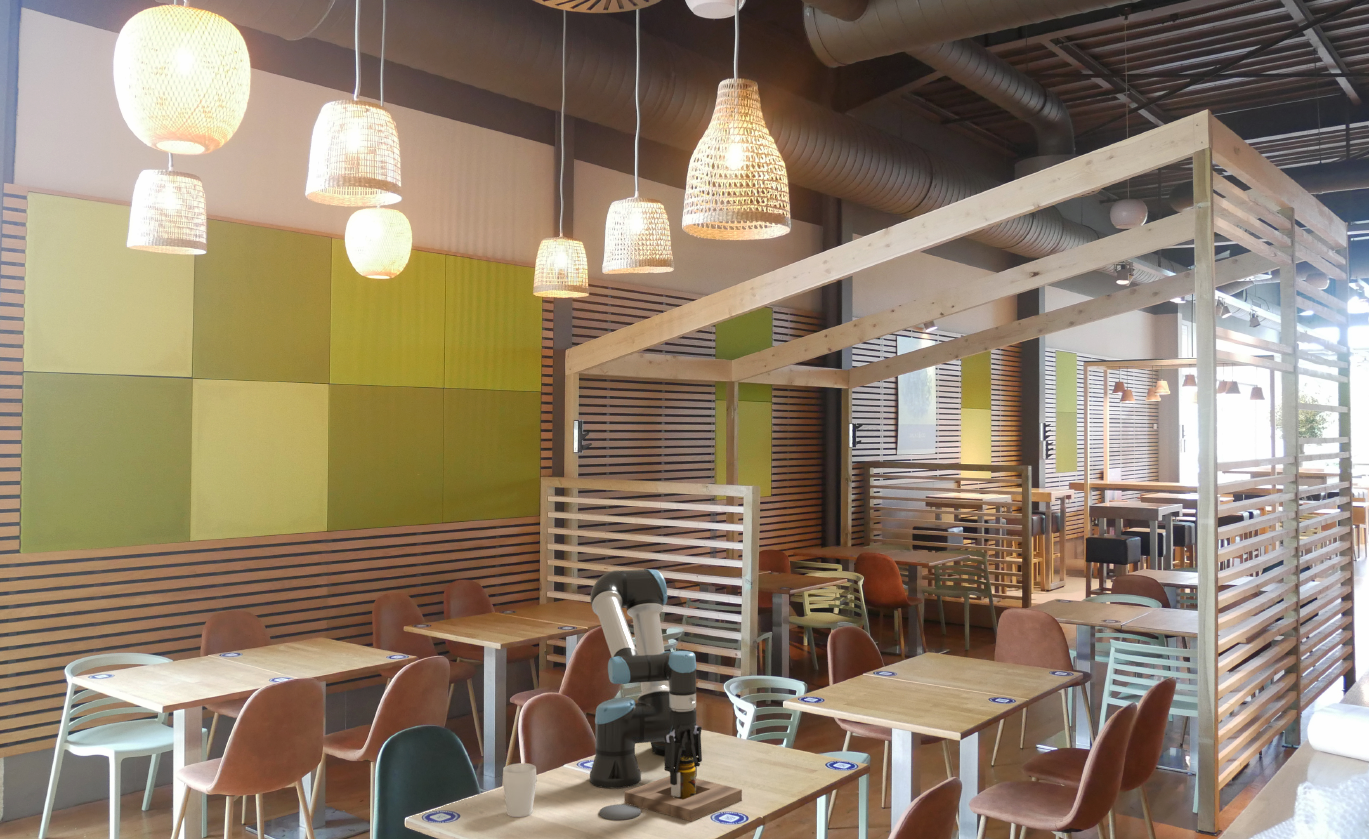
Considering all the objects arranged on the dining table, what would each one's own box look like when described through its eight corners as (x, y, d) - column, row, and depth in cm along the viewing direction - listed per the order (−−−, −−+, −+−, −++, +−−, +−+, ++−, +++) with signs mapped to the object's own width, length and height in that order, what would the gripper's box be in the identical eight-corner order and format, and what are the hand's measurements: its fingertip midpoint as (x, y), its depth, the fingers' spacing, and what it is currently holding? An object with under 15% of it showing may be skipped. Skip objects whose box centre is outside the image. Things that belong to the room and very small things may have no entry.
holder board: (624, 802, 283) (624, 791, 283) (676, 783, 299) (676, 773, 300) (691, 821, 267) (691, 809, 267) (741, 800, 284) (741, 789, 284)
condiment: (702, 802, 282) (701, 758, 283) (676, 808, 277) (676, 763, 278) (687, 796, 288) (686, 752, 289) (661, 801, 283) (661, 757, 284)
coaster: (590, 814, 273) (590, 811, 273) (619, 803, 282) (619, 801, 282) (620, 822, 266) (620, 820, 266) (649, 812, 275) (649, 809, 275)
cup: (521, 805, 281) (521, 761, 281) (543, 812, 275) (543, 766, 276) (495, 814, 274) (495, 768, 275) (518, 821, 268) (518, 774, 269)
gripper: (670, 716, 275) (671, 804, 274) (714, 703, 290) (715, 786, 288) (650, 712, 280) (650, 798, 279) (694, 700, 294) (695, 781, 293)
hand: (683, 792), depth 284 cm, fingers closed on condiment, 6 cm apart
